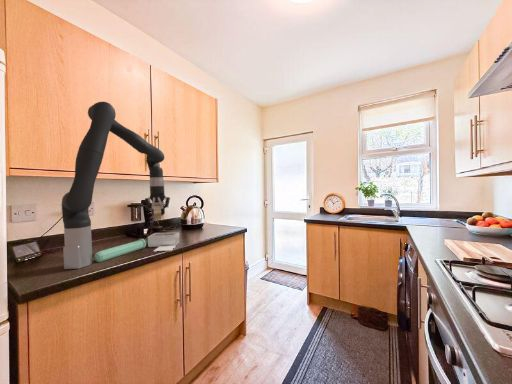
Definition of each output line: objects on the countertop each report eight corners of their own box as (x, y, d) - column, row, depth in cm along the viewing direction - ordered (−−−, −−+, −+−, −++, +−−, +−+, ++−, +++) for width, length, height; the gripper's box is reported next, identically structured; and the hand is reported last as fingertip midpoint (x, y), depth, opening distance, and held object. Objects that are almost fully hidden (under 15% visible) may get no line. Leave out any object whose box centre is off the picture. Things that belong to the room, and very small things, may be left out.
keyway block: (174, 246, 126) (174, 235, 126) (148, 247, 125) (147, 236, 125) (179, 241, 136) (179, 232, 136) (154, 242, 135) (154, 233, 135)
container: (97, 250, 100) (144, 237, 123) (90, 253, 102) (137, 240, 125) (101, 262, 99) (147, 247, 122) (94, 265, 101) (140, 250, 124)
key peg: (161, 219, 125) (160, 202, 124) (154, 220, 125) (153, 202, 124) (163, 218, 129) (162, 201, 128) (156, 218, 129) (155, 202, 128)
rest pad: (170, 251, 116) (170, 250, 116) (153, 252, 115) (153, 250, 115) (175, 246, 125) (175, 245, 125) (159, 247, 124) (159, 246, 124)
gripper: (141, 186, 121) (143, 216, 122) (167, 185, 122) (169, 215, 123) (147, 185, 129) (148, 214, 129) (171, 185, 130) (173, 213, 130)
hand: (158, 215), depth 126 cm, fingers closed on key peg, 4 cm apart
